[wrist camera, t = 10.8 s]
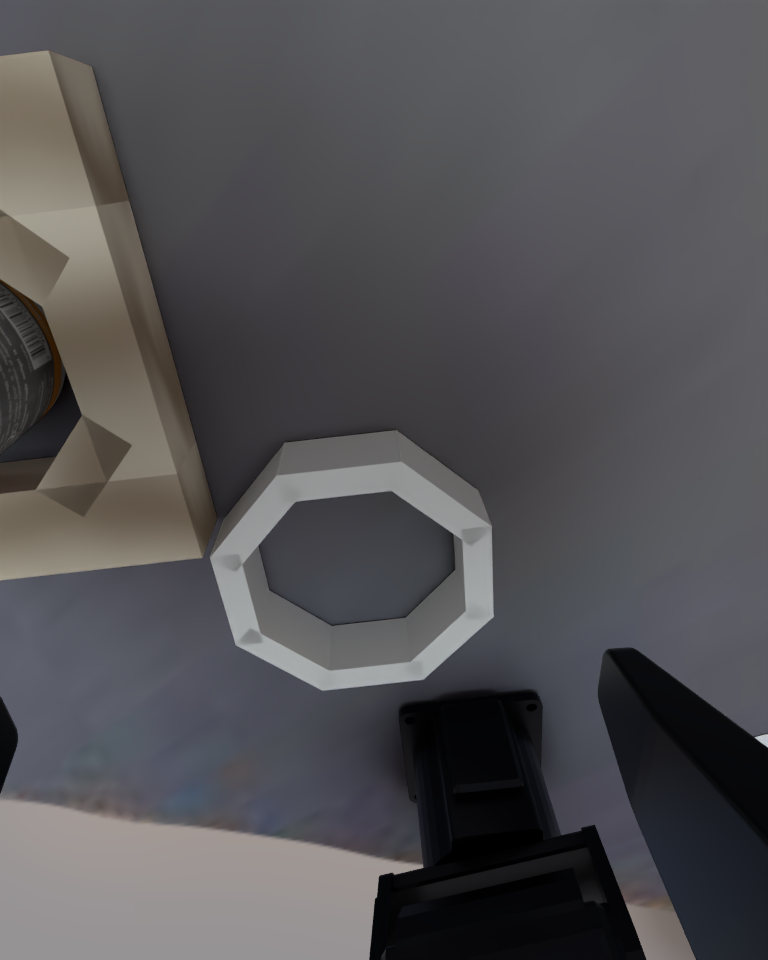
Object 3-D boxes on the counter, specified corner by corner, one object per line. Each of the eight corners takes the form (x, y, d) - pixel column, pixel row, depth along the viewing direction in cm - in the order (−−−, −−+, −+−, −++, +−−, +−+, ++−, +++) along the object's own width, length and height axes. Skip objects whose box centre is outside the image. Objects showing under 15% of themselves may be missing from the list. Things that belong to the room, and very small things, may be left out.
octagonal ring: (482, 627, 25) (495, 672, 23) (260, 652, 25) (251, 698, 23) (476, 420, 21) (490, 450, 19) (205, 451, 21) (187, 485, 19)
